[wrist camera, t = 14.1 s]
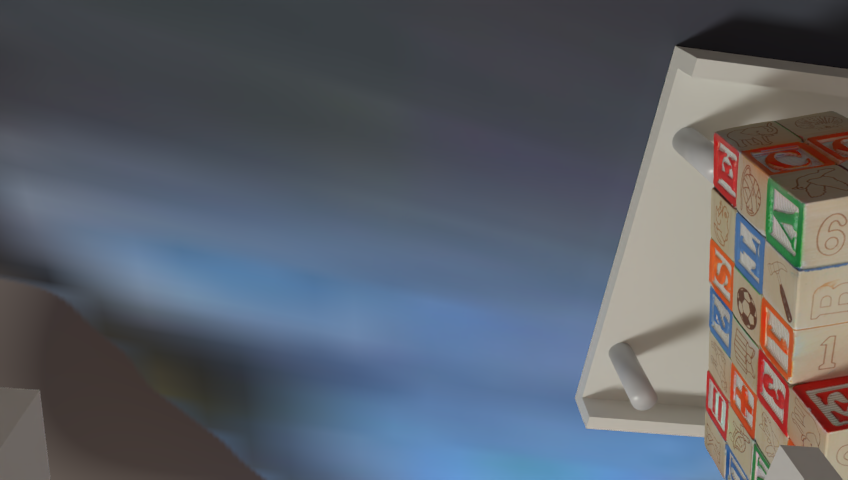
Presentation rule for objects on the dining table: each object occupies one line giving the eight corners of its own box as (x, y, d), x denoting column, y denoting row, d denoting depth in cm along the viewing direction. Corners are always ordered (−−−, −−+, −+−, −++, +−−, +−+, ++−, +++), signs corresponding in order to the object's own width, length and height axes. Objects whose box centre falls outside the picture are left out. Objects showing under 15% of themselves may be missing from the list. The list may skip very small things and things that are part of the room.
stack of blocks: (708, 128, 36) (849, 235, 25) (832, 106, 36) (1029, 204, 25) (703, 446, 46) (805, 625, 35) (801, 431, 46) (935, 605, 35)
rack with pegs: (675, 45, 41) (721, 71, 35) (887, 74, 42) (964, 103, 36) (574, 398, 51) (597, 460, 46) (746, 411, 53) (788, 473, 47)
